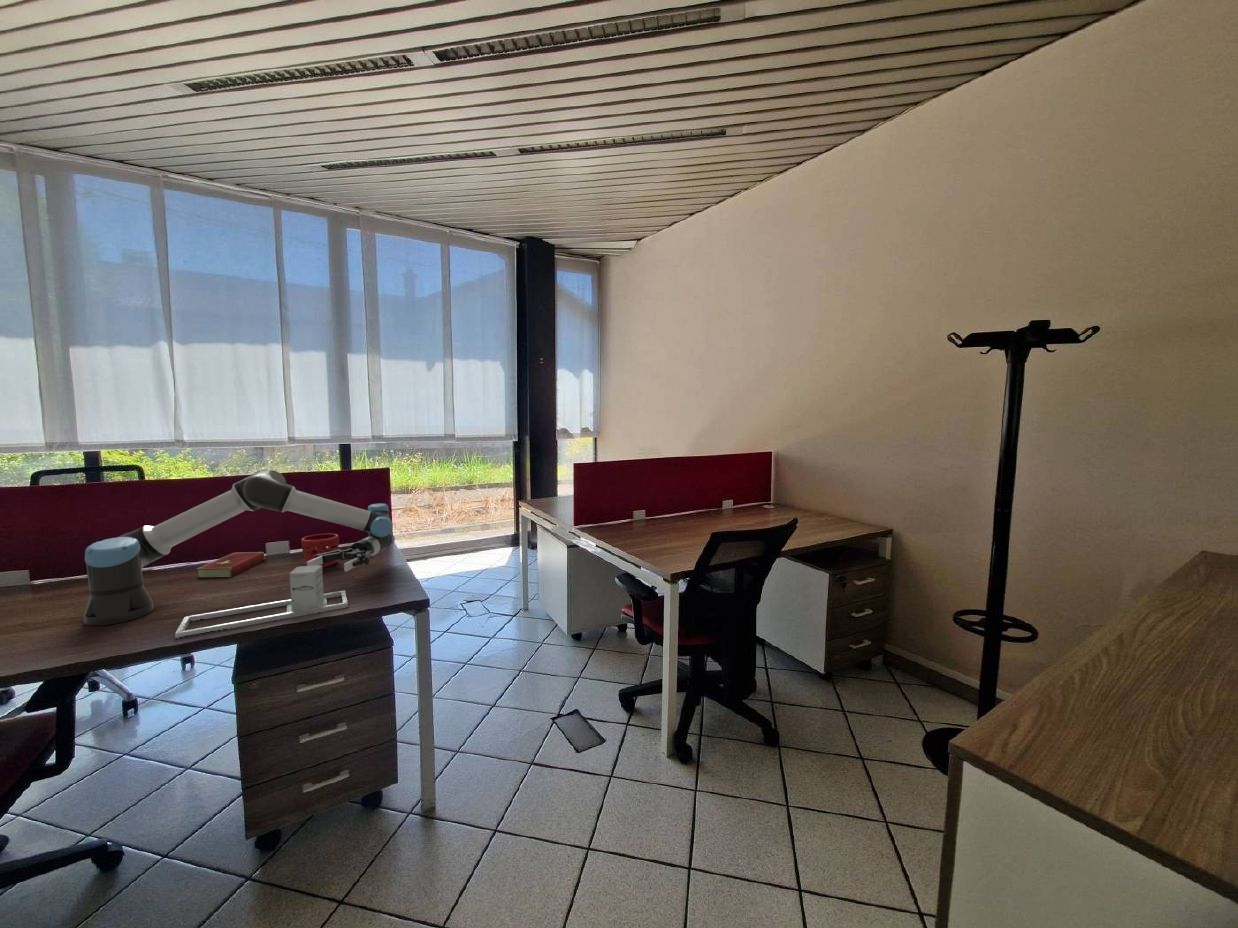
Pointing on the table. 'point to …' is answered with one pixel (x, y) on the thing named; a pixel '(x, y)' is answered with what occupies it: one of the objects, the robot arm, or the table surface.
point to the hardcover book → (231, 564)
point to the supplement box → (306, 587)
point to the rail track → (187, 619)
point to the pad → (289, 609)
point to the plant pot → (319, 546)
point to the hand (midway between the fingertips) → (326, 566)
